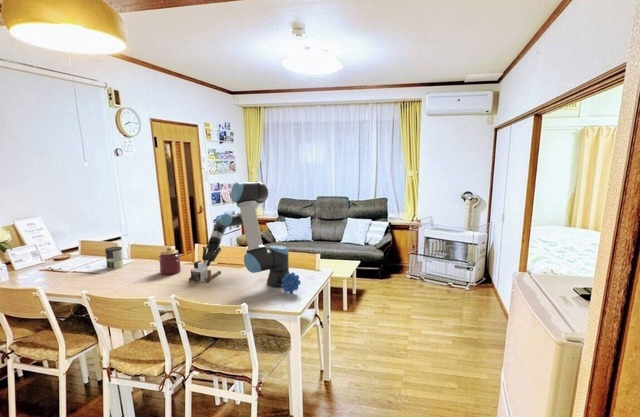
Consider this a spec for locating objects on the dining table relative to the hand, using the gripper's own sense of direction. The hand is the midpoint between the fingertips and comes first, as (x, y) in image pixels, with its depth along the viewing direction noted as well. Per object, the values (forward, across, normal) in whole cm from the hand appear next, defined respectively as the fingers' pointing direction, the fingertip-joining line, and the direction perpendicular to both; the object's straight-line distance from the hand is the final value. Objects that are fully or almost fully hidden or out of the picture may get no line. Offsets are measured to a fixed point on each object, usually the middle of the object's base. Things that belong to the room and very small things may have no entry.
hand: (204, 270), depth 214 cm
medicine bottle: (+7, 0, 0) cm, 7 cm away
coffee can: (-3, +76, -11) cm, 77 cm away
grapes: (+14, -62, +6) cm, 64 cm away
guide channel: (+3, 0, -4) cm, 5 cm away
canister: (-1, +29, -8) cm, 30 cm away
